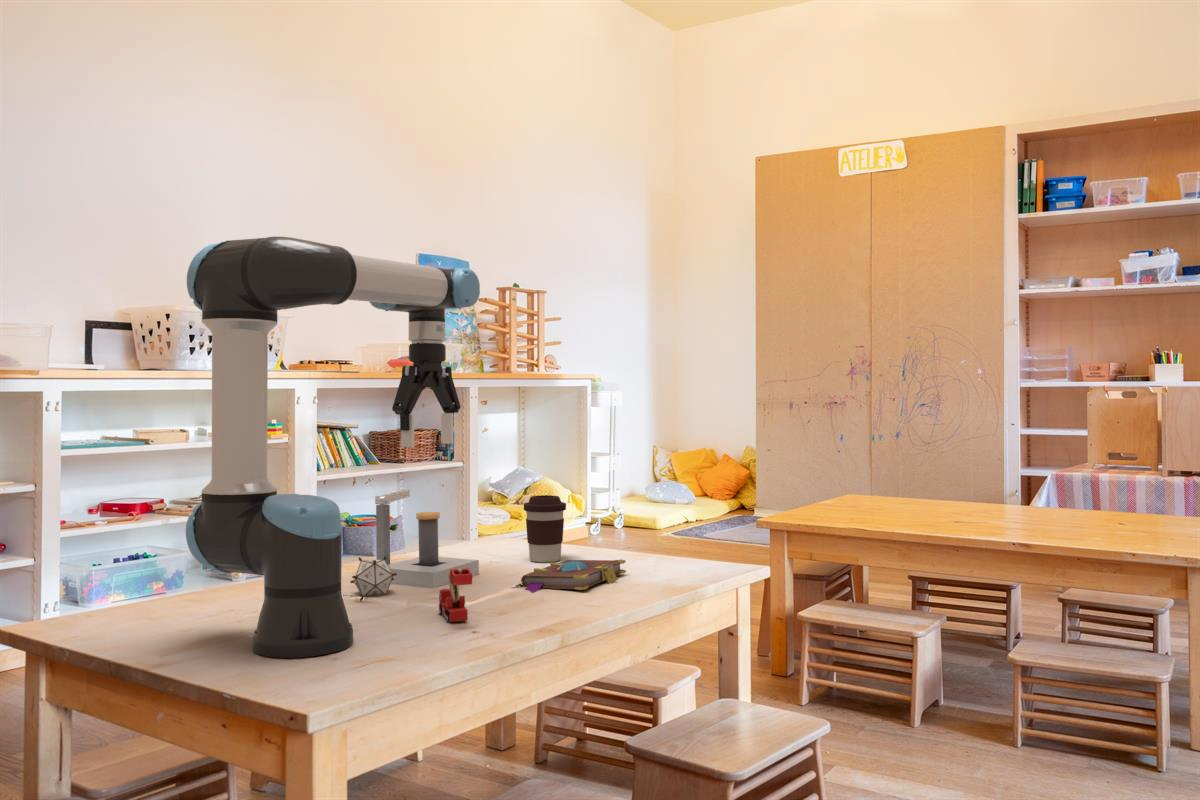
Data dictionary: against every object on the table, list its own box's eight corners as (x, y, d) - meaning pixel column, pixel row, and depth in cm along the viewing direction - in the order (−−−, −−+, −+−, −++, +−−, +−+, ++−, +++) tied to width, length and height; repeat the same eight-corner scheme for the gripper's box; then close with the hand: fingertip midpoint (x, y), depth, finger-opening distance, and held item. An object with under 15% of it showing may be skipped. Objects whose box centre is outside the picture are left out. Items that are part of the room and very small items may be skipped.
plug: (431, 580, 203) (430, 515, 203) (412, 579, 205) (411, 514, 205) (445, 576, 207) (444, 512, 207) (427, 575, 209) (425, 511, 209)
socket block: (433, 592, 196) (433, 572, 196) (377, 586, 202) (377, 567, 202) (478, 578, 210) (478, 560, 210) (425, 573, 216) (425, 555, 216)
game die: (379, 619, 190) (382, 583, 184) (340, 602, 191) (342, 566, 185) (402, 589, 197) (406, 553, 191) (365, 572, 198) (367, 537, 192)
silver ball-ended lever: (413, 496, 225) (413, 489, 225) (387, 504, 210) (387, 497, 210) (399, 496, 226) (399, 489, 225) (372, 504, 210) (372, 497, 210)
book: (509, 597, 198) (507, 572, 198) (565, 575, 220) (564, 553, 220) (582, 599, 191) (580, 573, 191) (633, 577, 213) (632, 554, 213)
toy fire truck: (455, 611, 180) (455, 557, 180) (473, 627, 167) (472, 570, 167) (437, 612, 179) (436, 559, 179) (453, 629, 166) (453, 572, 166)
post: (385, 581, 208) (384, 506, 208) (366, 579, 210) (365, 505, 210) (400, 577, 213) (399, 504, 213) (381, 575, 215) (381, 503, 215)
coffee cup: (570, 563, 229) (569, 498, 229) (527, 565, 227) (527, 499, 226) (561, 556, 239) (561, 493, 238) (521, 557, 236) (520, 495, 236)
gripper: (404, 340, 193) (405, 449, 193) (476, 344, 215) (476, 442, 215) (373, 341, 196) (374, 448, 196) (447, 345, 218) (448, 441, 219)
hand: (428, 445), depth 206 cm, fingers open, 13 cm apart
